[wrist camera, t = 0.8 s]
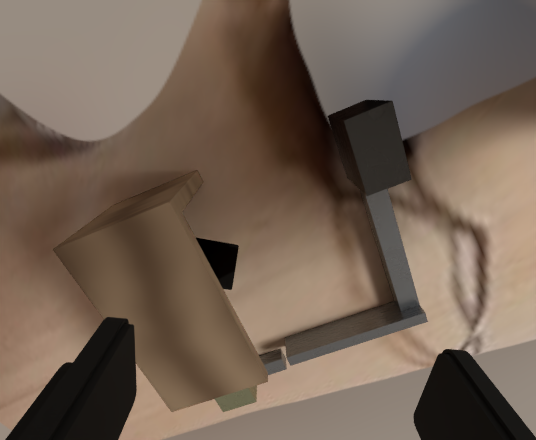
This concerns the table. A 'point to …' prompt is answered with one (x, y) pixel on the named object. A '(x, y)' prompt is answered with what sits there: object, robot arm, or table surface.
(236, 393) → the pale green block
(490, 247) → the table surface
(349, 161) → the grey angular bent frame
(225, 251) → the black phone stand
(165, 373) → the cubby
